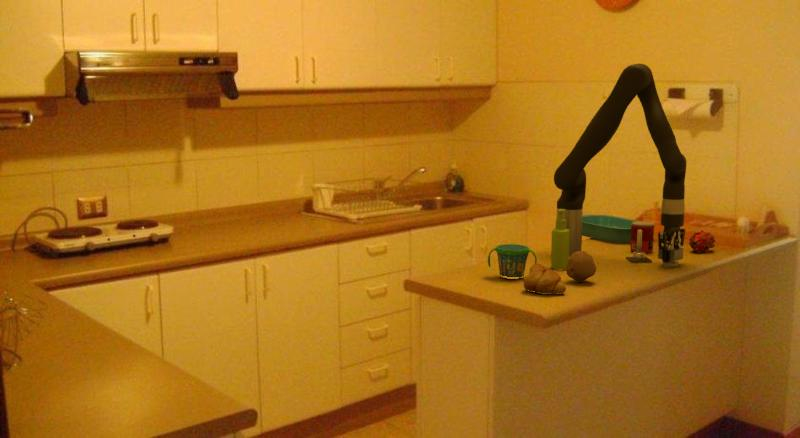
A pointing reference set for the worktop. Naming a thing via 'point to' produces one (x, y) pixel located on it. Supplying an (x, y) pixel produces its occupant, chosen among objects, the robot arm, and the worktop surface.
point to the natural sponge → (580, 266)
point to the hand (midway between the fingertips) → (670, 260)
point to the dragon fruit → (702, 241)
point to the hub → (670, 263)
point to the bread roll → (543, 280)
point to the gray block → (672, 254)
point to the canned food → (646, 236)
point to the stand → (639, 252)
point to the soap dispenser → (560, 243)
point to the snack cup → (512, 259)
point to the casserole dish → (607, 228)
